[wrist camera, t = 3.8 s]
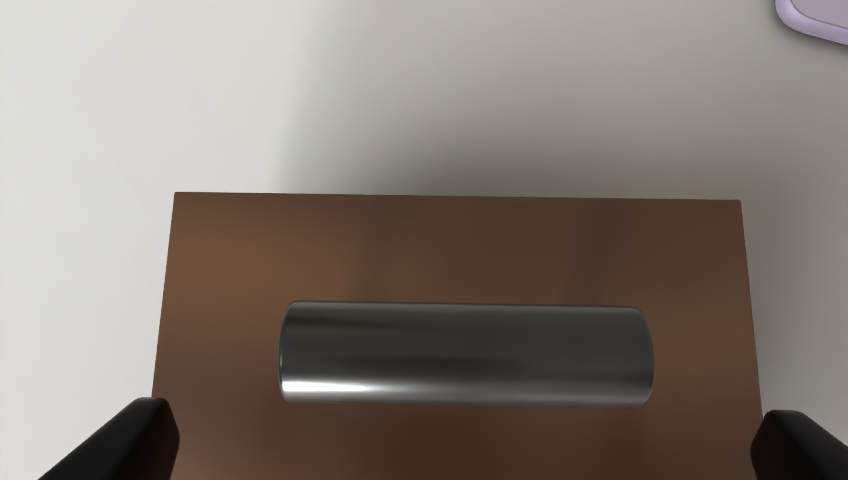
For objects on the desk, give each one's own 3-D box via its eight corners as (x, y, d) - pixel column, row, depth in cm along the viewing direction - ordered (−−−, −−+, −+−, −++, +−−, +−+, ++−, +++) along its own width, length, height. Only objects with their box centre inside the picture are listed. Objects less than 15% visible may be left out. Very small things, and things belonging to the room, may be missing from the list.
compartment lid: (188, 201, 14) (69, 120, 9) (723, 208, 13) (871, 131, 9) (134, 703, 11) (-58, 924, 7) (771, 721, 11) (998, 959, 7)
